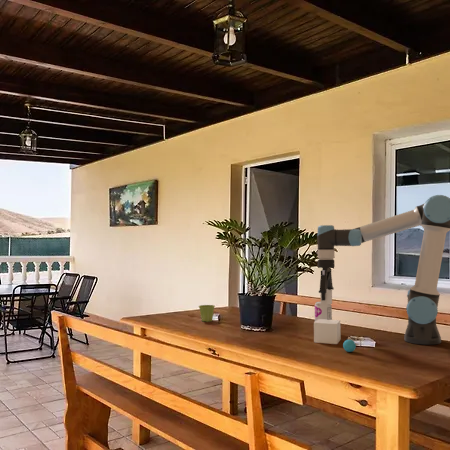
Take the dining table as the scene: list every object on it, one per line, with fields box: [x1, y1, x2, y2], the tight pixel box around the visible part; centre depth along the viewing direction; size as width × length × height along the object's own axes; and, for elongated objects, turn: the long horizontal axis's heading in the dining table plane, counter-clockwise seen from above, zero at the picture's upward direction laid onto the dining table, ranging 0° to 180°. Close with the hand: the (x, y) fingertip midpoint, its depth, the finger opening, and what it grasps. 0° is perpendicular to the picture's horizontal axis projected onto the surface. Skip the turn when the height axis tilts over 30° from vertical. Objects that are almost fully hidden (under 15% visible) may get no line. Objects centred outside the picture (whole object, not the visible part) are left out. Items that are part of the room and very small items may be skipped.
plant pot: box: [198, 304, 216, 323], centre depth 269 cm, size 9×9×9 cm
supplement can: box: [314, 301, 333, 322], centre depth 232 cm, size 8×8×15 cm
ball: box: [342, 339, 357, 353], centre depth 192 cm, size 5×5×5 cm
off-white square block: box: [313, 319, 342, 345], centre depth 213 cm, size 10×10×9 cm
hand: (326, 305), depth 213 cm, fingers open, 13 cm apart
